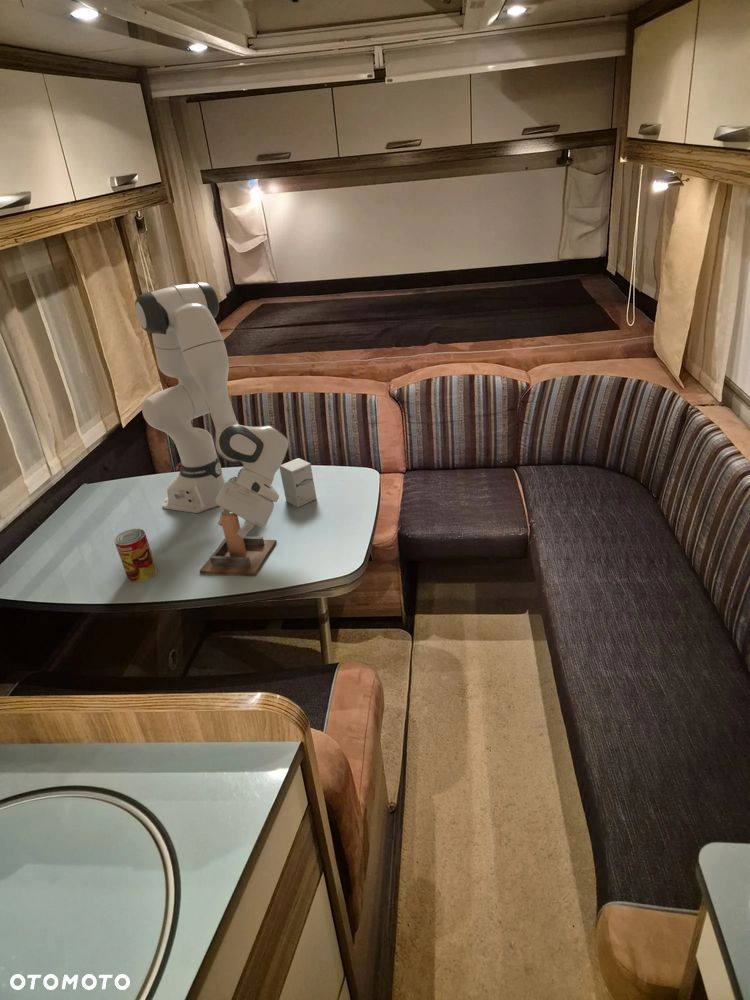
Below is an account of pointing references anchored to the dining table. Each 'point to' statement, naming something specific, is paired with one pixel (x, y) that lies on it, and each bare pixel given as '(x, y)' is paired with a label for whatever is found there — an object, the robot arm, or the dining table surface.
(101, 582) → the dining table surface
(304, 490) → the supplement box
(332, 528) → the dining table surface
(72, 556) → the dining table surface
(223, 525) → the terracotta post
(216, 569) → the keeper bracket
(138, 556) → the canned food
